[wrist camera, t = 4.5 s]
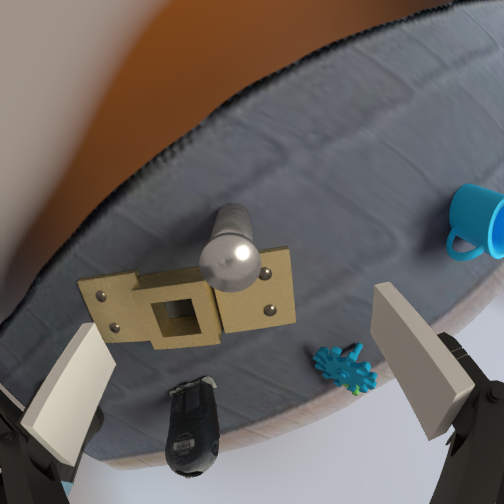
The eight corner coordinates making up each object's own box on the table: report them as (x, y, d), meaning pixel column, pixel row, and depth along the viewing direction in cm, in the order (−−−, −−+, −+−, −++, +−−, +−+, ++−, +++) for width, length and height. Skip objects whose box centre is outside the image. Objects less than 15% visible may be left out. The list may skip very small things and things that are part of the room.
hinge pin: (217, 240, 31) (206, 296, 20) (210, 203, 30) (193, 241, 18) (255, 234, 31) (265, 287, 20) (249, 197, 30) (256, 231, 18)
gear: (300, 348, 36) (365, 362, 29) (322, 318, 39) (384, 325, 32) (324, 390, 40) (379, 405, 32) (342, 362, 43) (395, 373, 36)
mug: (472, 172, 29) (513, 183, 21) (488, 214, 31) (523, 231, 24) (423, 225, 32) (462, 247, 24) (443, 265, 34) (477, 291, 26)
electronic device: (180, 406, 42) (169, 480, 28) (161, 387, 40) (143, 465, 26) (228, 393, 40) (228, 475, 27) (211, 373, 39) (204, 460, 25)
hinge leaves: (106, 338, 36) (97, 356, 32) (80, 278, 32) (66, 292, 28) (294, 318, 35) (300, 337, 32) (287, 245, 32) (294, 259, 28)
